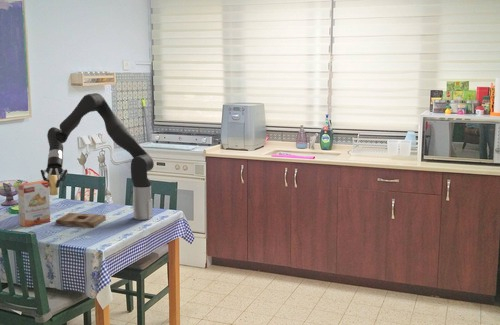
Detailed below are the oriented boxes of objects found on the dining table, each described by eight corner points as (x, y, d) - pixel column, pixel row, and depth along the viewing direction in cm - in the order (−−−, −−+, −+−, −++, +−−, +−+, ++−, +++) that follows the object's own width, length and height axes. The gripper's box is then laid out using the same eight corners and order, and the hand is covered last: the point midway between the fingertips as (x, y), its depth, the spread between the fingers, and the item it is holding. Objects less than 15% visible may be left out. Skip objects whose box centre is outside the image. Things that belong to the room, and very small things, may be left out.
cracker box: (25, 227, 268) (23, 185, 265) (18, 225, 272) (16, 183, 268) (51, 221, 279) (49, 181, 276) (44, 219, 283) (42, 179, 279)
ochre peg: (59, 193, 288) (58, 175, 287) (55, 195, 285) (54, 176, 283) (52, 193, 289) (51, 174, 287) (48, 195, 285) (47, 176, 283)
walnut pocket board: (105, 219, 285) (105, 215, 284) (94, 227, 271) (94, 222, 271) (69, 217, 288) (68, 212, 287) (55, 224, 274) (55, 220, 274)
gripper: (40, 155, 289) (37, 183, 280) (68, 155, 292) (66, 183, 283) (42, 164, 295) (39, 191, 286) (70, 163, 298) (68, 190, 289)
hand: (52, 187), depth 284 cm, fingers closed on ochre peg, 4 cm apart
